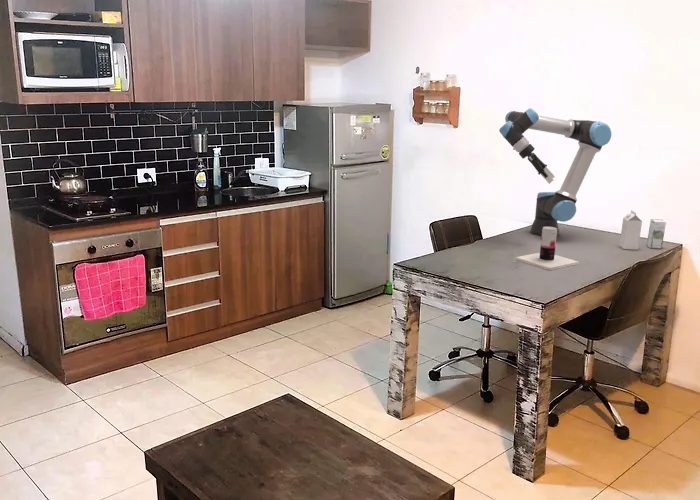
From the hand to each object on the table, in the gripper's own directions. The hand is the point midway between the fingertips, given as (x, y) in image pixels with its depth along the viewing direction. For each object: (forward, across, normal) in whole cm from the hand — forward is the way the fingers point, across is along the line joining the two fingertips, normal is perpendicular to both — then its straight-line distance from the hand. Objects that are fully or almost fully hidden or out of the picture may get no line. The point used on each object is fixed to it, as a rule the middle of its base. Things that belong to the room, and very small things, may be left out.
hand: (552, 180), depth 322 cm
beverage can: (+25, +32, -22) cm, 46 cm away
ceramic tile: (+25, +32, -22) cm, 47 cm away
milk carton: (+52, -12, +4) cm, 54 cm away
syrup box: (+61, -18, +13) cm, 66 cm away
